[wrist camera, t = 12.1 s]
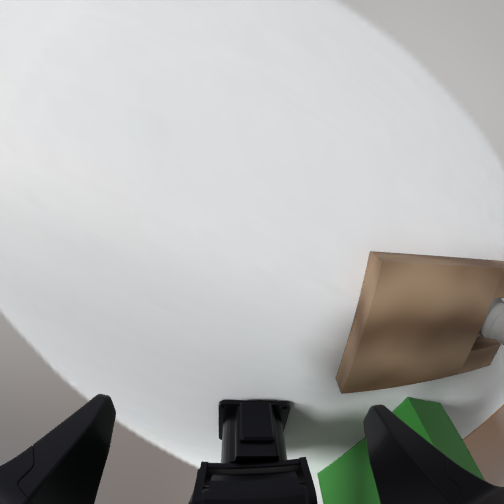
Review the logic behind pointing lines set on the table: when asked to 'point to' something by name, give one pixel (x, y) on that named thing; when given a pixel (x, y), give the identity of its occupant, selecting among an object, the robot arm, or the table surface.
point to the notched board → (419, 320)
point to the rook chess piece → (494, 321)
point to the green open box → (358, 465)
